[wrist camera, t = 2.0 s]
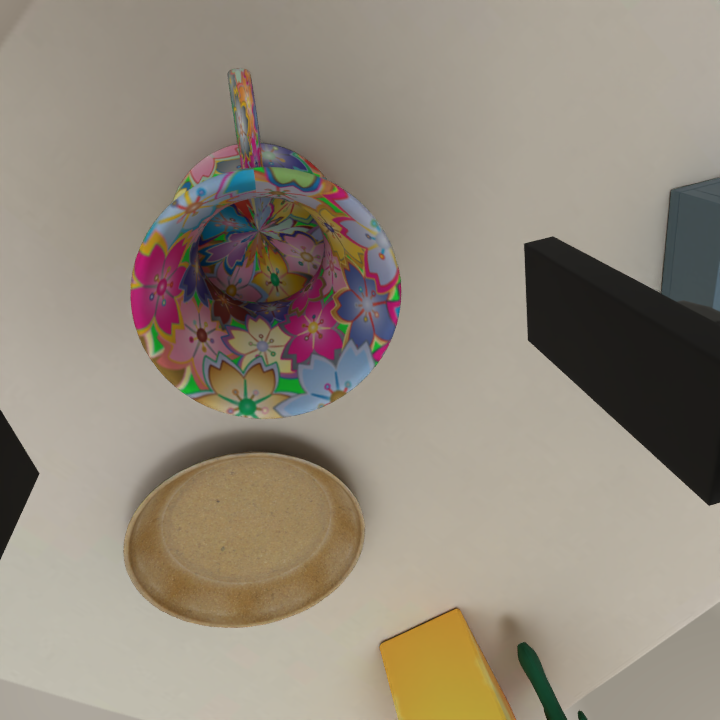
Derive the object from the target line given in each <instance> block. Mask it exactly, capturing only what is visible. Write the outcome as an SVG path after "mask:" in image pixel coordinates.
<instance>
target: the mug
mask: <svg viewBox="0 0 720 720" xmlns="http://www.w3.org/2000/svg"><path fill="white" fill-rule="evenodd" d="M228 82H229V89H230V96H231V102H232V109H233V116H234V122H235V129H236V136H237V142H238V144H236V145H232V146H228V147H226V148H223V149H220V150H218V151H216V152H214V153H212V154H210V155H209V156H207V157H205V158H204V159H203V160H201V161H200V162H199V163H198V164H196V165H195V166H194V167H193V168H192V169H191V170H190V172H189V173H188V174H187V175H186V176H185V178H184V179H183V181H182V182H181V184H180V186H179V188H178V190H177V192H176V194H175V197H174V199H173V202H172V203H171V204H170V205H169V206H168V207H167V208H166V209H165V210H164V211H163V212H162V213H161V215H160V216H159V217H158V218H157V219H156V221H155V222H154V223H153V225H152V226H151V228H150V230H149V231H148V233H147V234H146V236H145V238H144V240H143V242H142V244H141V246H140V249H139V252H138V254H137V257H136V260H135V264H134V268H133V272H132V280H131V307H132V314H133V319H134V324H135V327H136V330H137V333H138V336H139V338H140V340H141V343H142V345H143V347H144V349H145V351H146V352H147V354H148V356H149V357H150V359H151V360H152V362H153V363H154V364H155V366H156V367H157V369H158V370H159V371H160V372H161V373H162V374H163V375H164V377H165V378H166V379H167V380H168V381H170V382H171V383H172V384H173V385H174V386H175V387H176V388H178V389H179V390H180V391H182V392H183V393H184V394H186V395H187V396H189V397H190V398H192V399H194V400H195V401H197V402H199V403H201V404H203V405H205V406H207V407H210V408H212V409H215V410H217V411H220V412H224V413H227V414H231V415H235V416H240V417H247V418H260V419H270V418H283V417H290V416H295V415H300V414H303V413H307V412H310V411H313V410H316V409H318V408H321V407H323V406H325V405H327V404H330V403H332V402H334V401H335V400H337V399H339V398H340V397H342V396H344V395H345V394H346V393H348V392H349V391H351V390H352V389H353V388H354V387H356V386H357V385H358V384H359V383H360V382H361V381H362V380H363V379H364V378H365V377H366V376H367V375H368V374H369V373H370V372H371V371H372V370H373V369H374V367H375V366H376V365H377V363H378V362H379V361H380V359H381V358H382V356H383V354H384V353H385V351H386V349H387V347H388V345H389V343H390V341H391V339H392V337H393V334H394V331H395V328H396V325H397V321H398V317H399V312H400V304H401V279H400V273H399V267H398V263H397V260H396V256H395V253H394V251H393V248H392V246H391V243H390V241H389V239H388V237H387V235H386V234H385V232H384V230H383V229H382V227H381V226H380V224H379V223H378V221H377V220H376V219H375V218H374V216H373V215H372V214H371V213H370V211H369V210H368V209H367V208H366V207H365V206H364V205H363V204H362V203H360V202H359V201H358V200H357V199H356V198H355V197H353V196H352V195H351V194H350V193H348V192H347V191H345V190H344V189H342V188H340V187H339V186H337V185H335V184H333V183H331V182H329V181H328V180H327V179H326V178H325V177H324V175H323V174H322V173H321V172H320V171H319V170H318V169H317V168H316V167H315V166H314V165H313V164H312V163H310V162H309V161H308V160H306V159H305V158H303V157H302V156H300V155H299V154H297V153H295V152H293V151H291V150H288V149H286V148H283V147H280V146H276V145H271V144H266V143H260V135H259V127H258V120H257V112H256V105H255V99H254V92H253V86H252V80H251V75H250V72H249V71H248V70H247V69H242V68H238V69H232V70H230V71H229V72H228Z"/></svg>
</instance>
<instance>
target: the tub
mask: <svg viewBox="0 0 720 720" xmlns="http://www.w3.org/2000/svg"><path fill="white" fill-rule="evenodd" d="M661 294H663V295H665V296H667V297H669V298H671V299H672V300H674V301H676V302H678V301H682V300H684V301H688V302H692V303H696V304H700V305H704V306H708V307H711V308H713V309H715V310H717V311H719V312H720V178H716V179H712V180H708V181H705V182H701V183H697V184H693V185H689V186H685V187H681V188H677V189H673V190H671V197H670V208H669V218H668V229H667V240H666V250H665V261H664V271H663V282H662V292H661Z"/></svg>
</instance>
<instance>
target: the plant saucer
mask: <svg viewBox="0 0 720 720" xmlns="http://www.w3.org/2000/svg"><path fill="white" fill-rule="evenodd" d="M364 534H365V524H364V518H363V514H362V511H361V508H360V505H359V503H358V501H357V499H356V498H355V496H354V495H353V493H352V492H351V491H350V489H349V488H348V487H347V486H346V485H345V484H344V483H343V482H342V481H341V480H340V479H339V478H337V477H336V476H335V475H333V474H332V473H330V472H329V471H328V470H326V469H324V468H322V467H320V466H318V465H316V464H314V463H311V462H309V461H307V460H304V459H301V458H297V457H294V456H290V455H285V454H280V453H272V452H241V453H233V454H227V455H223V456H218V457H215V458H211V459H208V460H205V461H203V462H200V463H197V464H195V465H193V466H191V467H188V468H186V469H184V470H182V471H180V472H178V473H177V474H175V475H173V476H172V477H170V478H169V479H167V480H166V481H164V482H163V483H162V484H160V485H159V486H158V487H157V488H155V489H154V490H153V491H152V492H151V493H150V494H149V495H148V496H147V497H146V498H145V499H144V501H143V502H142V503H141V504H140V506H139V507H138V509H137V510H136V512H135V513H134V515H133V517H132V519H131V521H130V523H129V525H128V528H127V532H126V535H125V540H124V561H125V566H126V570H127V572H128V575H129V577H130V579H131V581H132V583H133V584H134V586H135V587H136V589H137V590H138V591H139V592H140V594H141V595H142V596H143V597H144V598H145V599H147V600H148V601H149V602H150V603H151V604H152V605H154V606H155V607H157V608H158V609H159V610H161V611H163V612H165V613H167V614H169V615H171V616H174V617H176V618H179V619H181V620H183V621H187V622H191V623H195V624H199V625H204V626H210V627H224V628H228V627H231V628H239V627H251V626H257V625H263V624H268V623H272V622H275V621H279V620H282V619H284V618H287V617H290V616H293V615H295V614H298V613H300V612H302V611H304V610H307V609H309V608H310V607H312V606H314V605H315V604H317V603H319V602H320V601H322V600H323V599H324V598H325V597H327V596H328V595H329V594H331V593H332V592H333V591H334V590H335V589H337V588H338V587H339V586H340V584H342V583H343V581H344V580H345V579H346V578H347V576H348V575H349V574H350V572H351V571H352V570H353V568H354V566H355V565H356V563H357V561H358V558H359V556H360V554H361V550H362V547H363V543H364Z"/></svg>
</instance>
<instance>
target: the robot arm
mask: <svg viewBox="0 0 720 720" xmlns="http://www.w3.org/2000/svg"><path fill="white" fill-rule="evenodd" d="M524 251H525V276H526V302H527V327H528V341H529V342H531V343H532V344H533V345H534V346H535V347H536V348H537V349H538V350H539V351H540V352H541V353H543V354H544V355H545V356H546V357H547V358H548V359H549V360H550V361H551V362H552V363H554V364H555V365H556V366H557V367H558V368H559V369H560V370H561V371H562V372H563V373H564V374H566V375H567V376H568V377H569V378H570V379H571V380H572V381H573V382H574V383H575V384H576V385H578V386H579V387H580V388H581V389H582V390H583V391H584V392H585V393H586V394H587V395H588V396H590V397H591V398H592V399H593V400H594V401H595V402H596V403H597V404H598V405H599V406H601V407H602V408H603V409H604V410H605V411H606V412H607V413H608V414H609V415H610V416H611V417H613V418H614V419H615V420H616V421H617V422H618V423H619V424H620V425H621V426H622V427H623V428H625V429H626V430H627V431H628V432H629V433H630V434H631V435H632V436H633V437H634V438H636V439H637V440H638V441H639V442H640V443H641V444H642V445H643V446H644V447H645V448H646V449H648V450H649V451H650V452H651V453H652V454H653V455H654V456H655V457H656V458H657V459H658V460H660V461H661V462H662V463H663V464H664V465H665V466H666V467H667V468H668V469H669V470H671V471H672V472H673V473H674V474H675V475H676V476H677V477H678V478H679V479H680V480H681V481H683V482H684V483H685V484H686V485H687V486H688V487H689V488H690V489H691V490H692V491H693V492H695V493H696V494H697V495H698V496H699V497H700V498H701V499H702V500H703V501H704V502H705V503H707V504H708V505H709V506H710V505H713V504H717V503H720V312H719V311H717V310H715V309H713V308H711V307H708V306H704V305H700V304H696V303H692V302H688V301H684V300H682V301H678V302H676V301H674V300H672V299H671V298H669V297H667V296H665V295H663V294H661V293H659V292H657V291H655V290H653V289H652V288H650V287H648V286H646V285H644V284H642V283H640V282H638V281H636V280H634V279H633V278H631V277H629V276H627V275H625V274H623V273H621V272H619V271H617V270H616V269H614V268H612V267H610V266H608V265H606V264H604V263H602V262H600V261H598V260H597V259H595V258H593V257H591V256H589V255H587V254H585V253H583V252H581V251H580V250H578V249H576V248H574V247H572V246H570V245H568V244H566V243H564V242H562V241H561V240H559V239H557V238H555V237H549V238H545V239H541V240H537V241H533V242H529V243H525V244H524ZM38 476H39V472H38V470H37V469H36V467H35V465H34V464H33V462H32V461H31V459H30V457H29V456H28V454H27V452H26V451H25V449H24V447H23V446H22V444H21V443H20V441H19V439H18V438H17V436H16V434H15V433H14V431H13V430H12V428H11V426H10V425H9V423H8V421H7V420H6V418H5V416H4V415H3V413H2V412H1V410H0V559H1V557H2V555H3V553H4V550H5V548H6V546H7V544H8V542H9V539H10V537H11V535H12V533H13V531H14V528H15V526H16V524H17V522H18V520H19V517H20V515H21V513H22V511H23V509H24V507H25V504H26V502H27V500H28V498H29V496H30V493H31V491H32V489H33V487H34V485H35V482H36V480H37V478H38Z"/></svg>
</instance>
